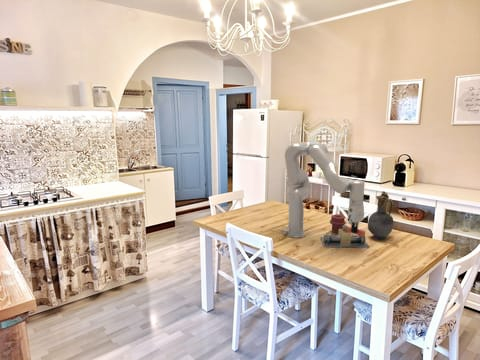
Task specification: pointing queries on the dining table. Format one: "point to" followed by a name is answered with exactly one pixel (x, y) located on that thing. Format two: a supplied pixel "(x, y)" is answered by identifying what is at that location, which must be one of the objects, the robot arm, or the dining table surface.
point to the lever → (348, 229)
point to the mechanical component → (337, 222)
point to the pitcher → (381, 218)
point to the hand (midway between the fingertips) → (354, 232)
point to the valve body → (344, 240)
